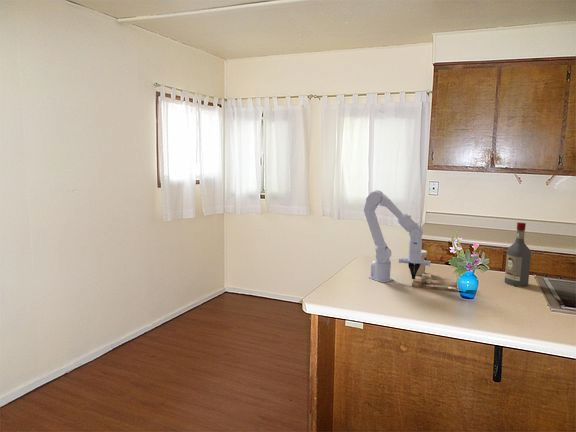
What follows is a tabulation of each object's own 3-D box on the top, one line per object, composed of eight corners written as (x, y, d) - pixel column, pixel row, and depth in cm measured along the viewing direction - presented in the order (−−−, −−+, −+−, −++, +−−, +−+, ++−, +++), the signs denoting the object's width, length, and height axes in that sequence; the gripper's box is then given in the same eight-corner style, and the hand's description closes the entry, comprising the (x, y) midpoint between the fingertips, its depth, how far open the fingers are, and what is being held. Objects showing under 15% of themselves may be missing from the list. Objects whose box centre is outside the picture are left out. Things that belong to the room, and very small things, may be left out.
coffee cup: (428, 275, 226) (429, 252, 224) (410, 275, 226) (411, 252, 224) (423, 271, 235) (424, 249, 233) (405, 270, 235) (406, 248, 233)
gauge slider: (420, 284, 205) (421, 277, 205) (422, 279, 212) (422, 273, 212) (429, 285, 204) (430, 278, 203) (430, 280, 211) (431, 274, 211)
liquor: (515, 280, 219) (521, 221, 215) (531, 285, 211) (536, 224, 207) (501, 282, 216) (506, 221, 212) (516, 287, 208) (521, 224, 204)
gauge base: (411, 286, 206) (412, 276, 205) (414, 279, 217) (414, 270, 217) (466, 292, 198) (467, 282, 197) (466, 285, 209) (466, 275, 208)
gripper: (398, 251, 208) (397, 279, 210) (430, 254, 203) (428, 282, 205) (400, 248, 215) (399, 275, 217) (431, 251, 210) (429, 278, 212)
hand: (413, 278), depth 211 cm, fingers closed
